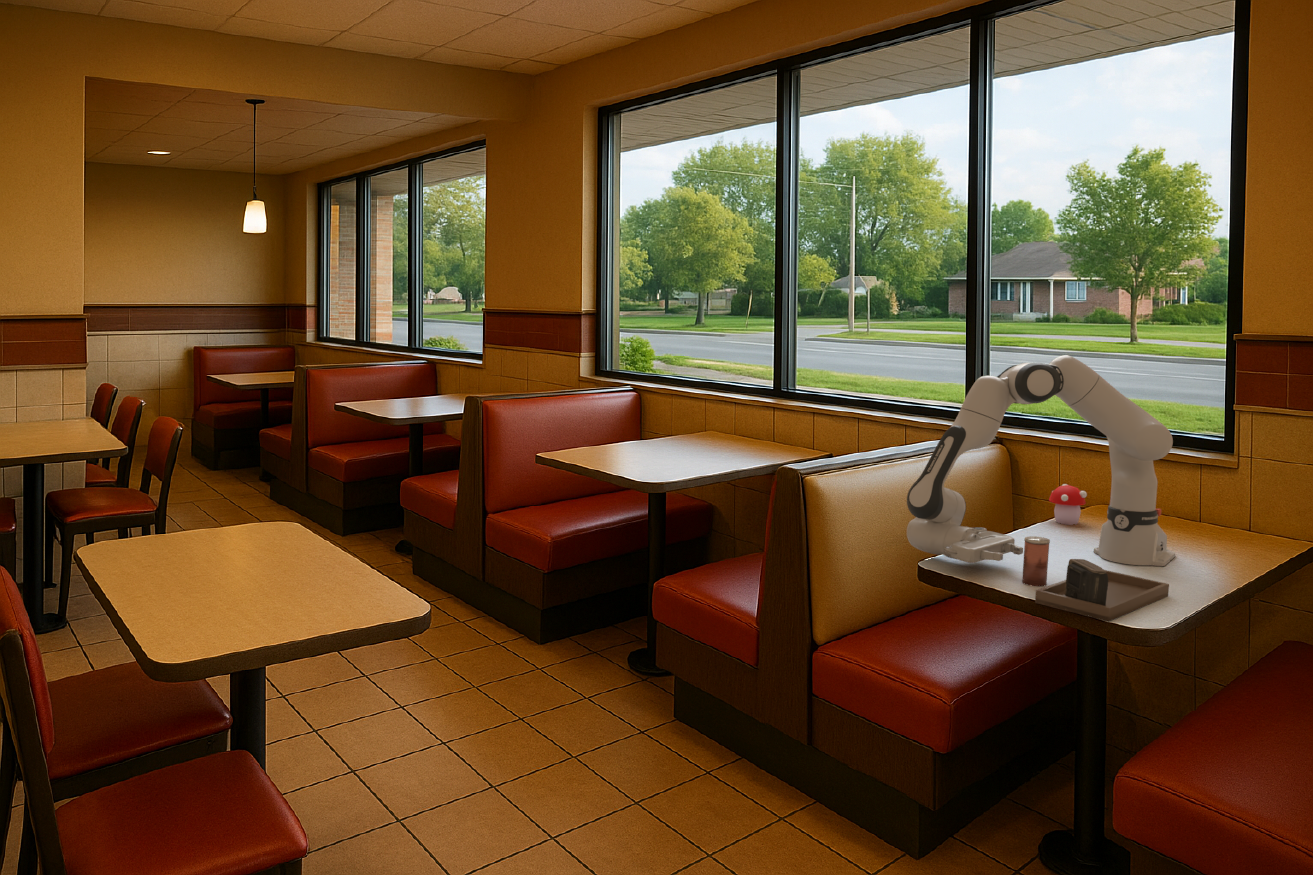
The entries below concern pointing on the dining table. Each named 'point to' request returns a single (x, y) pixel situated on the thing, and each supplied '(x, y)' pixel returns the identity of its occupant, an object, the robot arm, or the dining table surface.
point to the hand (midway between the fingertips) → (1011, 554)
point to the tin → (1035, 561)
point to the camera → (1086, 582)
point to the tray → (1120, 597)
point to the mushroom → (1067, 503)
